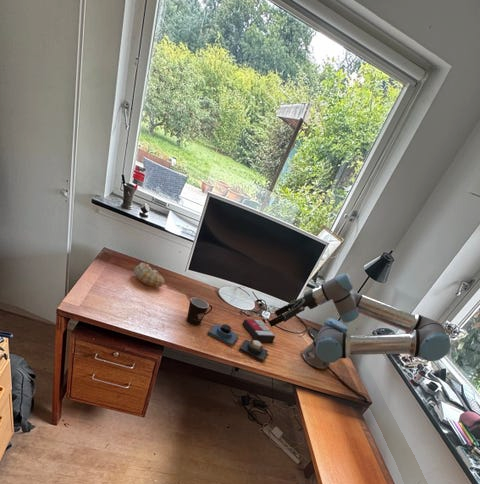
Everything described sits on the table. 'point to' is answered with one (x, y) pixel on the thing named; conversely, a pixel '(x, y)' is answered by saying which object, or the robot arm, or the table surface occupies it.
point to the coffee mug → (197, 310)
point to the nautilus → (148, 275)
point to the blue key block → (223, 335)
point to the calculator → (258, 330)
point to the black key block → (253, 351)
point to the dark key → (226, 328)
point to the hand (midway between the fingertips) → (272, 318)
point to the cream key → (256, 344)
